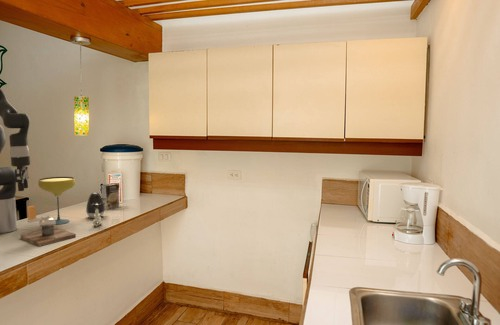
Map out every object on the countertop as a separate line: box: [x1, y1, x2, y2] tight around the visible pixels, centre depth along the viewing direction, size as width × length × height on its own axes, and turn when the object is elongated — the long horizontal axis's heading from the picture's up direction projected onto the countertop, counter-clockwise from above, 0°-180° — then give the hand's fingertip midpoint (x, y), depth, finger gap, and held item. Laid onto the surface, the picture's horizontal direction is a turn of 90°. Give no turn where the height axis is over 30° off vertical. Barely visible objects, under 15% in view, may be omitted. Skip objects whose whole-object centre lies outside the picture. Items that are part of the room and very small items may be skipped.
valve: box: [90, 203, 103, 227], centre depth 194 cm, size 7×7×12 cm
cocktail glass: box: [37, 176, 76, 226], centre depth 198 cm, size 18×18×25 cm
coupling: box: [26, 205, 57, 228], centre depth 169 cm, size 7×12×11 cm, turn 146°
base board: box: [19, 225, 77, 247], centre depth 172 cm, size 19×17×6 cm
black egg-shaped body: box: [85, 191, 106, 219], centre depth 211 cm, size 10×10×15 cm
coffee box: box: [101, 183, 120, 211], centre depth 233 cm, size 9×6×16 cm
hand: (23, 189), depth 167 cm, fingers open, 8 cm apart
